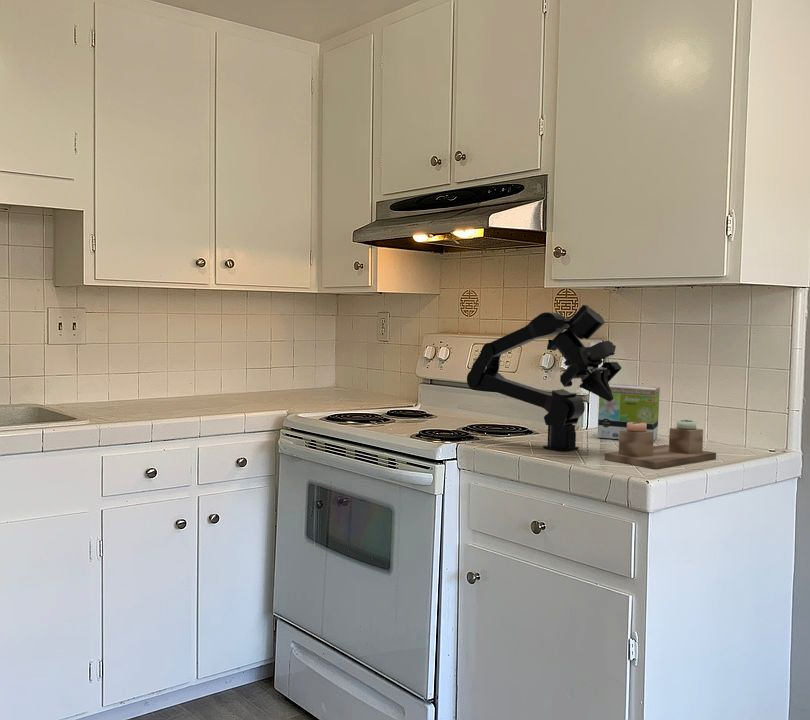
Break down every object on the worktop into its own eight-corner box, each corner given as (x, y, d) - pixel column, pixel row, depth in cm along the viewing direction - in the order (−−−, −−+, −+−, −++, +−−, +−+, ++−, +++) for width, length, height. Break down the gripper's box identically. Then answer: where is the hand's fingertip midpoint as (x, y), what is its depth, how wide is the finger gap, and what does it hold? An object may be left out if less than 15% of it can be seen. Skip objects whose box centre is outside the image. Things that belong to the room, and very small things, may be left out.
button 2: (672, 427, 191) (673, 420, 191) (683, 426, 194) (683, 418, 194) (689, 429, 188) (689, 422, 188) (699, 428, 190) (700, 421, 190)
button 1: (622, 429, 186) (623, 422, 186) (634, 428, 188) (634, 420, 188) (638, 432, 182) (639, 424, 182) (650, 430, 185) (650, 422, 185)
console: (604, 459, 187) (605, 429, 186) (664, 450, 201) (665, 423, 201) (655, 469, 176) (657, 437, 175) (715, 458, 190) (717, 429, 190)
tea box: (596, 438, 220) (598, 385, 219) (603, 434, 229) (605, 383, 228) (653, 443, 213) (655, 388, 213) (658, 438, 222) (660, 385, 222)
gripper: (571, 329, 187) (611, 379, 179) (615, 329, 200) (654, 376, 192) (543, 361, 193) (580, 410, 186) (588, 359, 206) (624, 405, 198)
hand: (611, 400), depth 190 cm, fingers closed
